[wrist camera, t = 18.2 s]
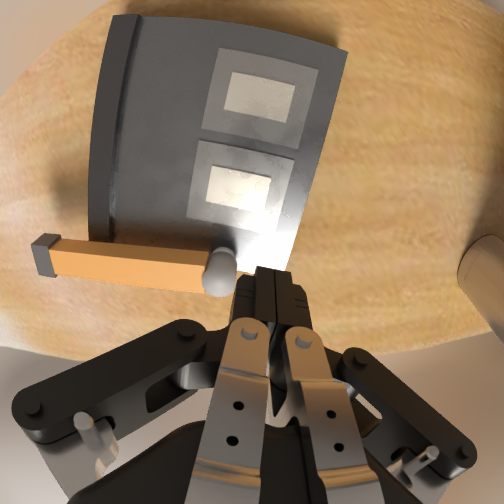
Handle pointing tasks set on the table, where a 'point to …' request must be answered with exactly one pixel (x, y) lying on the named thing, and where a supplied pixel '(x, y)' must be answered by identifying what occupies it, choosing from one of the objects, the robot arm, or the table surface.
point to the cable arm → (136, 265)
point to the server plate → (208, 136)
